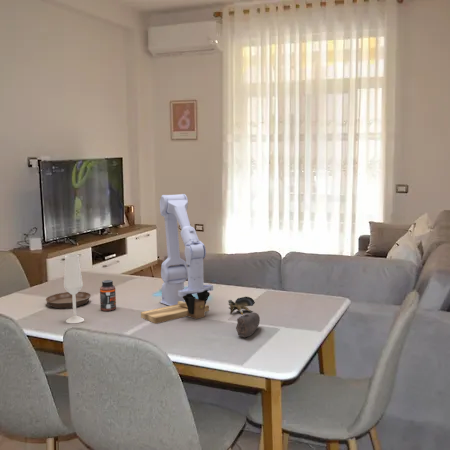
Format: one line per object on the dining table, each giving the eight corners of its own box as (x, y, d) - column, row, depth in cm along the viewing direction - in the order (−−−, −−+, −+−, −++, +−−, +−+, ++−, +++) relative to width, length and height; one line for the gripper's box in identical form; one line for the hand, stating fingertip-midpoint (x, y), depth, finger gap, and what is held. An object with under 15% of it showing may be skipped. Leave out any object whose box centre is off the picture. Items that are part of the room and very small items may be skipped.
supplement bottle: (112, 311, 215) (111, 283, 214) (98, 311, 216) (96, 282, 215) (118, 307, 221) (117, 279, 220) (104, 307, 222) (103, 279, 221)
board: (141, 317, 207) (140, 312, 207) (193, 305, 222) (193, 300, 222) (155, 323, 200) (155, 318, 199) (209, 310, 215) (209, 305, 214)
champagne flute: (65, 324, 201) (62, 258, 198) (65, 318, 207) (62, 254, 204) (85, 322, 203) (81, 256, 199) (84, 317, 209) (81, 253, 206)
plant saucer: (36, 308, 223) (36, 300, 222) (62, 297, 239) (62, 290, 239) (75, 311, 217) (75, 303, 217) (99, 299, 234) (98, 292, 234)
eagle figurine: (236, 315, 205) (257, 307, 208) (228, 297, 207) (250, 290, 210) (231, 320, 211) (252, 313, 215) (224, 303, 214) (245, 296, 217)
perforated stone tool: (251, 326, 195) (251, 306, 195) (265, 328, 193) (265, 308, 192) (232, 339, 182) (231, 318, 181) (246, 341, 180) (246, 320, 179)
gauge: (175, 311, 214) (174, 296, 213) (183, 309, 216) (183, 294, 216) (198, 319, 204) (197, 303, 203) (206, 317, 206) (206, 301, 205)
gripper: (185, 281, 198) (186, 318, 200) (217, 275, 207) (218, 310, 209) (174, 277, 203) (175, 314, 205) (206, 272, 212) (207, 306, 214)
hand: (196, 312), depth 207 cm, fingers closed on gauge, 4 cm apart
